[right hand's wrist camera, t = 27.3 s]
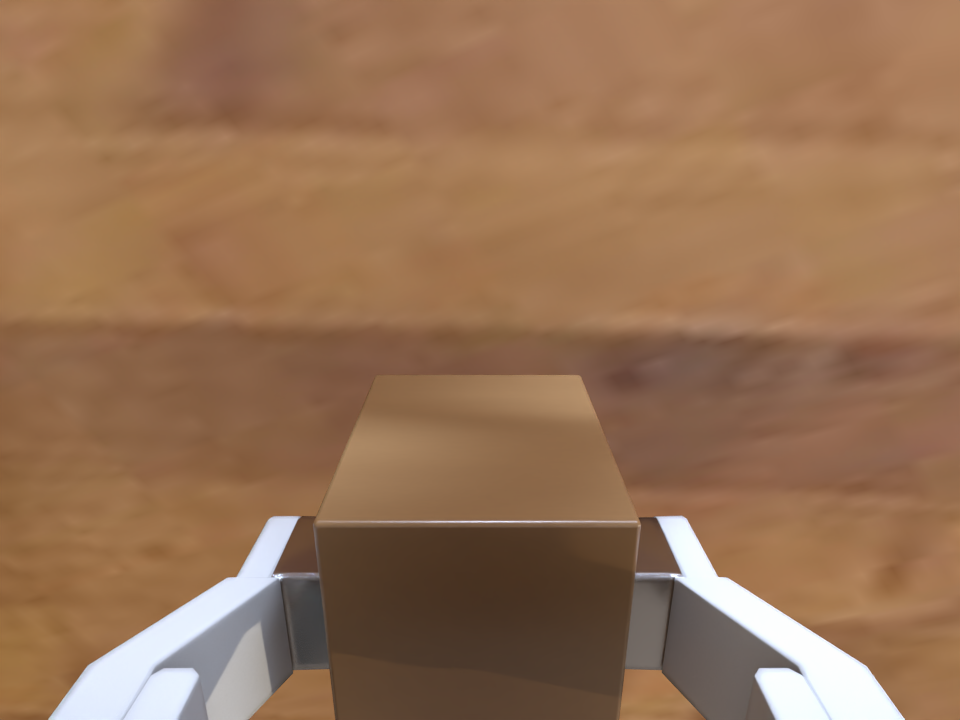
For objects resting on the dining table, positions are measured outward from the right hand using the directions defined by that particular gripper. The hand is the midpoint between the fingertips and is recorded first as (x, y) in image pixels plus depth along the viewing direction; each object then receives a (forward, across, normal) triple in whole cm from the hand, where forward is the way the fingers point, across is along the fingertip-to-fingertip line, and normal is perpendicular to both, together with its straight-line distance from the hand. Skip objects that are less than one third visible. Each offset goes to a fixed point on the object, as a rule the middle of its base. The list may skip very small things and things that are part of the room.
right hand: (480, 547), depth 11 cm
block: (+2, 0, 0) cm, 3 cm away
